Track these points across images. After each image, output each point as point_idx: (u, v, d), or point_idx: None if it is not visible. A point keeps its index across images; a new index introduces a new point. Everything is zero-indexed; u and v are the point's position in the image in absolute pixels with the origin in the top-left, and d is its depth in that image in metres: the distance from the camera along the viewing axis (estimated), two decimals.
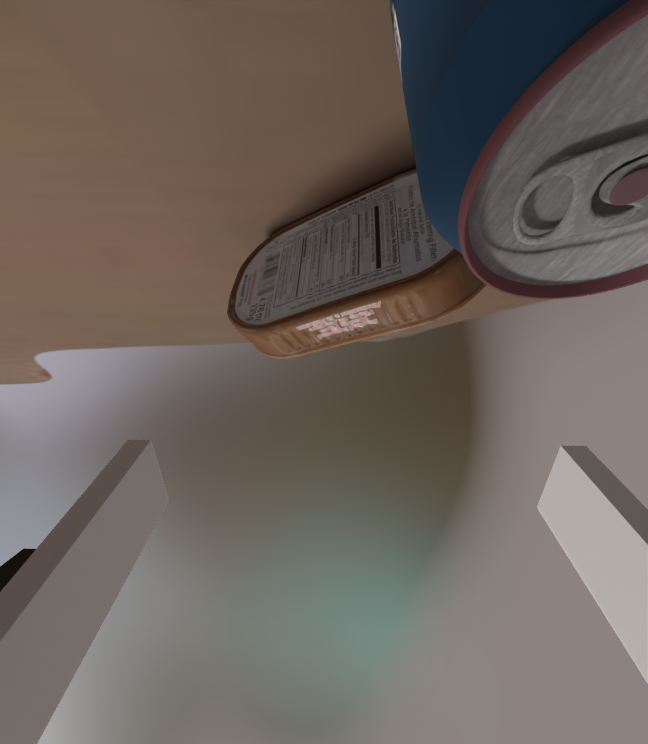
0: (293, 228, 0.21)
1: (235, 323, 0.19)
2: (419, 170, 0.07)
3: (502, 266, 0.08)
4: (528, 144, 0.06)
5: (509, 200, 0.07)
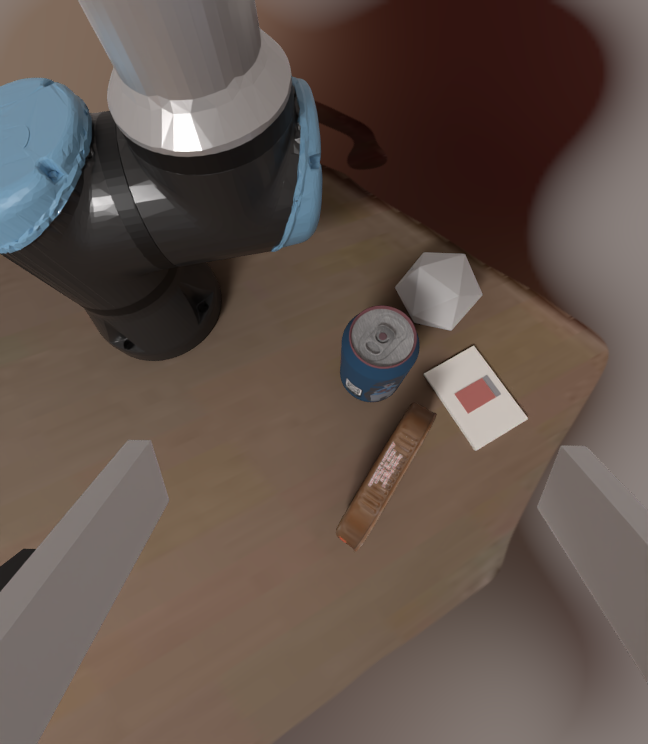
0: (358, 491, 0.37)
1: (340, 521, 0.30)
2: (351, 367, 0.30)
3: (381, 364, 0.29)
4: (357, 342, 0.30)
5: (366, 351, 0.29)
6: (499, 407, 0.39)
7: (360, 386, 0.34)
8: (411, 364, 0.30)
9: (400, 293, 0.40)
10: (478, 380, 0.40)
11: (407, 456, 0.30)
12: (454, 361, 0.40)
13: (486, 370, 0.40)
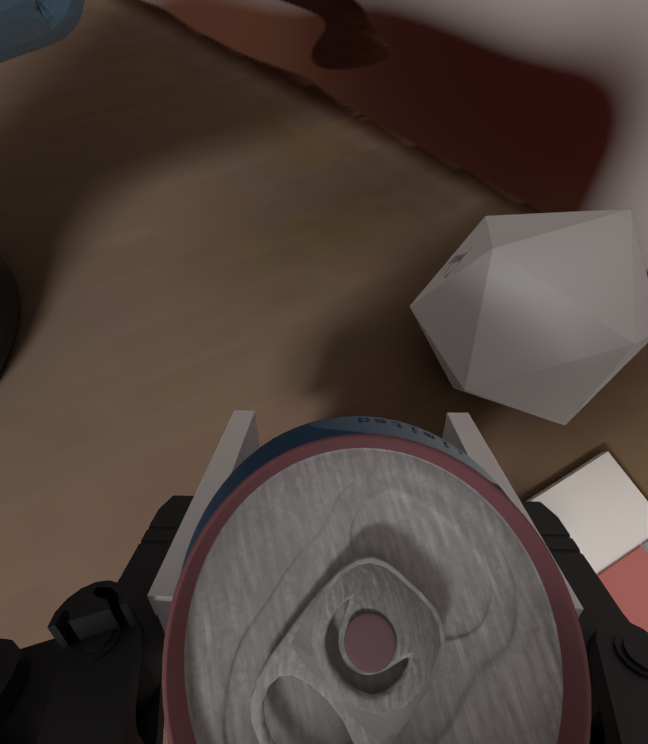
0: None
1: None
2: None
3: None
4: (218, 670, 0.05)
5: (267, 743, 0.05)
6: None
7: None
8: None
9: (425, 323, 0.15)
10: (632, 553, 0.15)
11: None
12: (562, 495, 0.16)
13: None
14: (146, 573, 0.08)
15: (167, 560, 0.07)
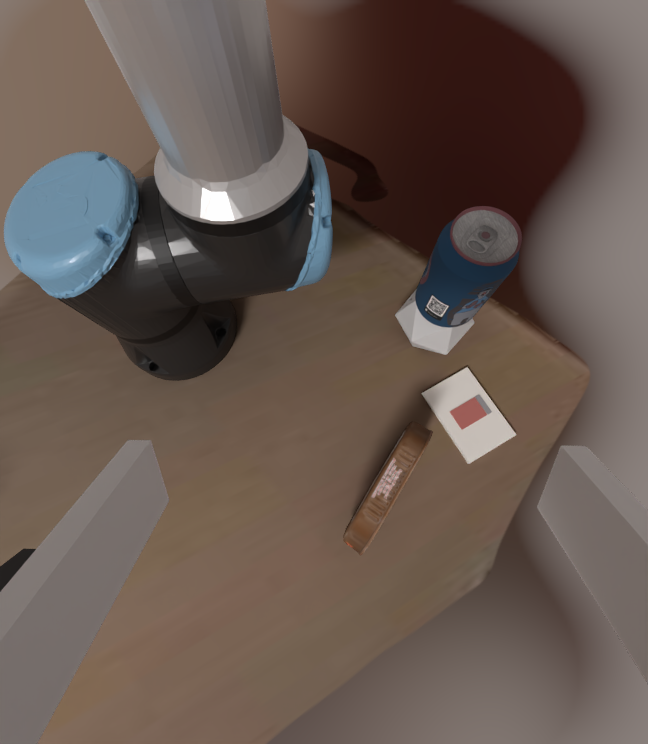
0: (363, 500, 0.40)
1: (347, 528, 0.34)
2: (450, 270, 0.29)
3: (486, 261, 0.28)
4: (459, 241, 0.29)
5: (469, 251, 0.28)
6: (490, 424, 0.43)
7: (450, 299, 0.33)
8: (513, 266, 0.29)
9: (400, 320, 0.44)
10: (471, 399, 0.44)
11: (406, 471, 0.34)
12: (449, 381, 0.44)
13: (478, 390, 0.44)
14: None
15: None
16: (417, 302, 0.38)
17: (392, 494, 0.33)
